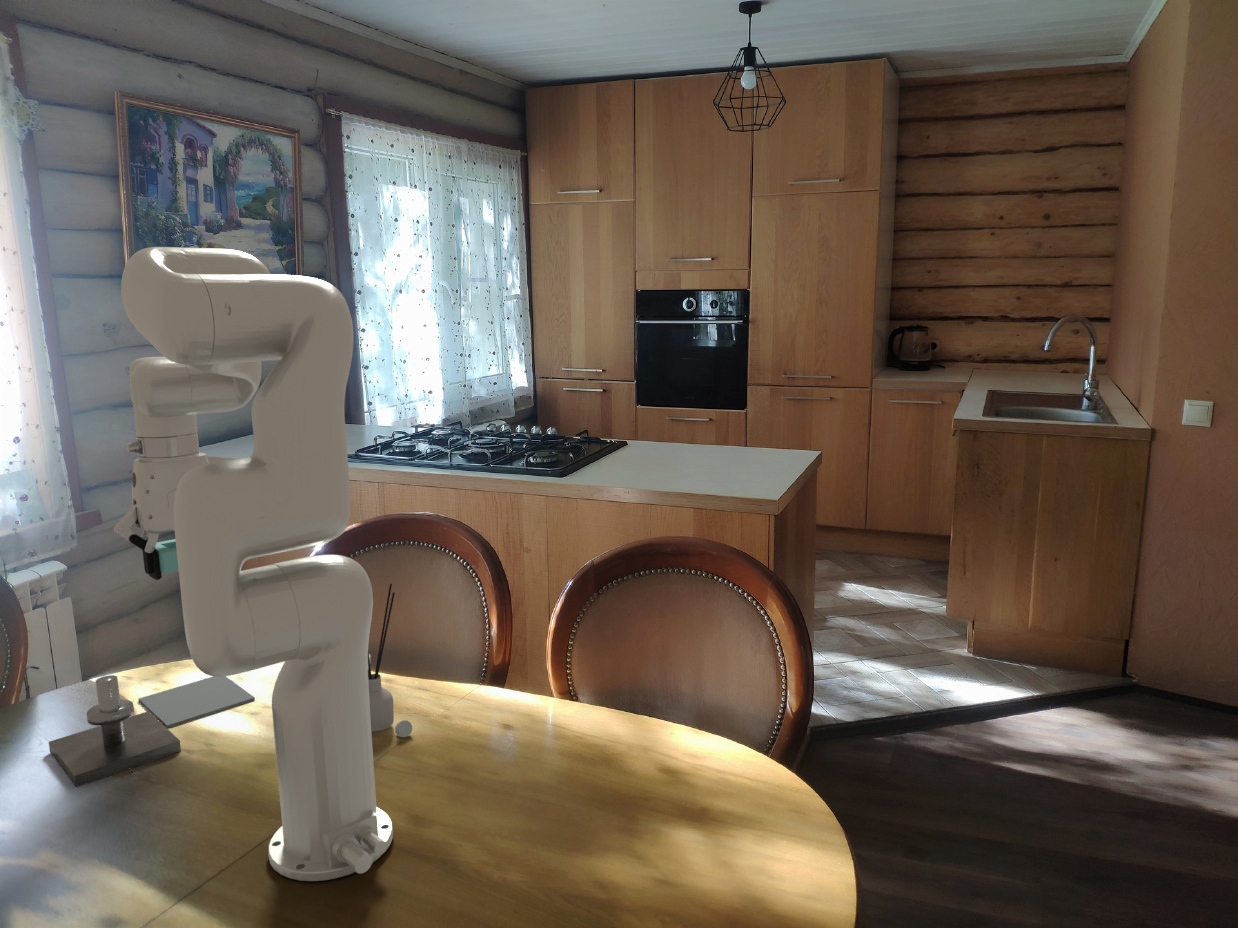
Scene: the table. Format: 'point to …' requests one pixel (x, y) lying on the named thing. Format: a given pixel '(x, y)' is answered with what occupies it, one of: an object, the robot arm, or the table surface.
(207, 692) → the slate mat
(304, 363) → the robot arm
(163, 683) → the table surface
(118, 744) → the ring stand
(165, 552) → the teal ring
